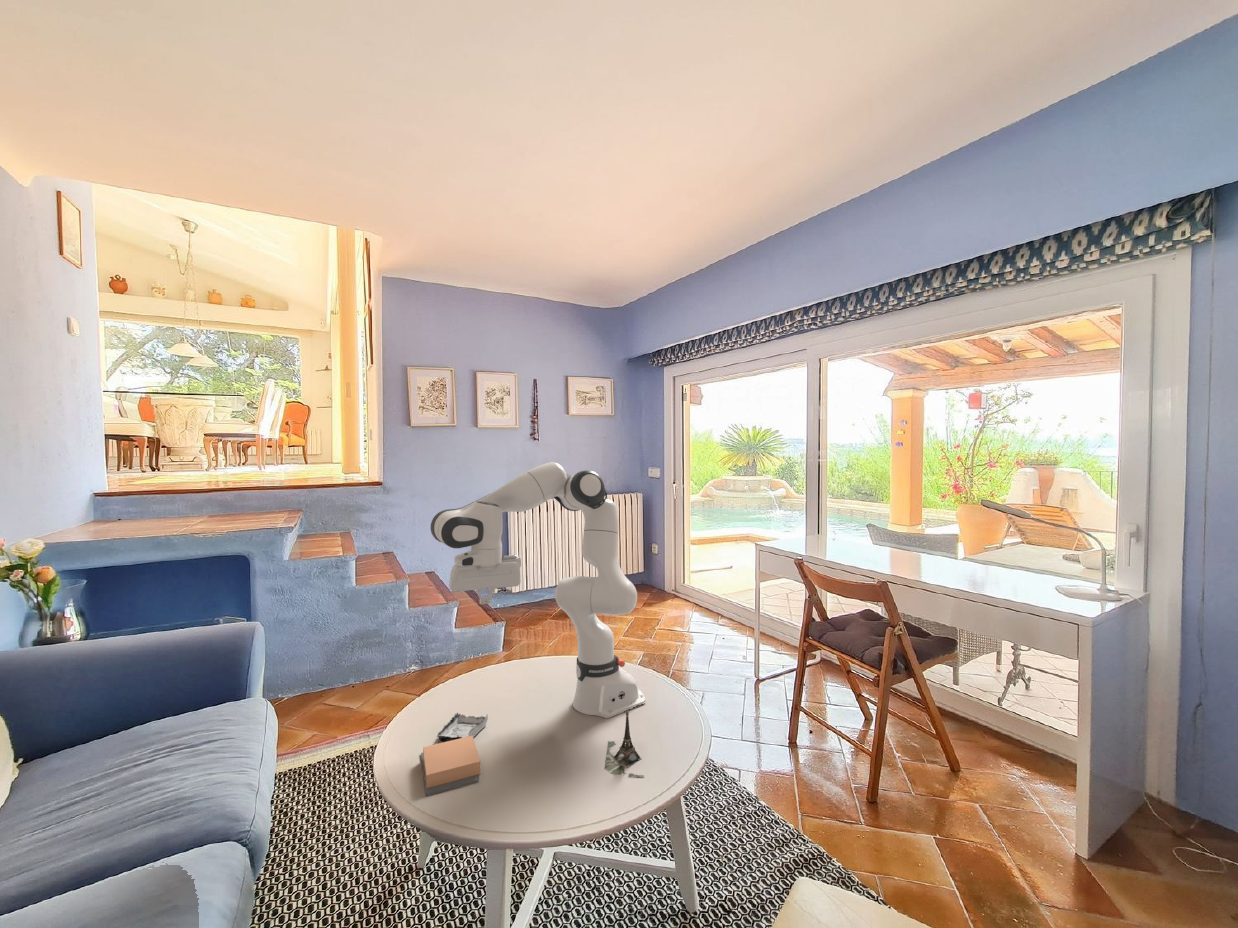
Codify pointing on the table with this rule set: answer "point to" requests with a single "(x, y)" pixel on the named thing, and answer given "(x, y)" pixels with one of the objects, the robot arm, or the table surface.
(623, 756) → the eiffel tower figurine
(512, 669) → the table surface
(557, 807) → the table surface
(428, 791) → the mat
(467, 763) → the orange block
